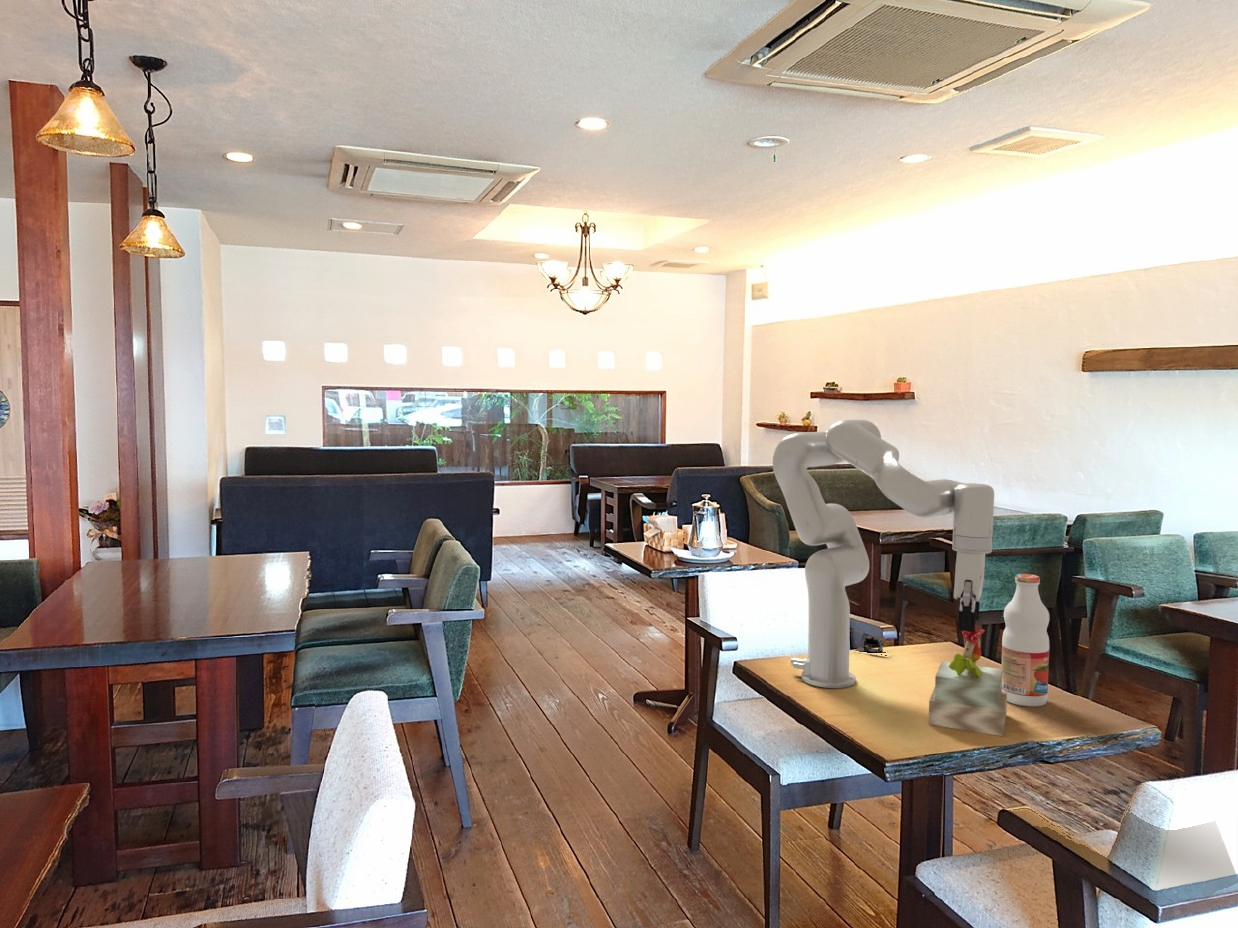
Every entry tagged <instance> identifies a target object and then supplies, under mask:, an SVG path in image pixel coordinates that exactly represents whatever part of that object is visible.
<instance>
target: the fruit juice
mask: <svg viewBox="0 0 1238 928" xmlns="http://www.w3.org/2000/svg"><path fill="white" fill-rule="evenodd" d="M1014 581H1015V584H1016V587H1015V592H1014V594H1013V597H1012V599H1011V601H1009V602H1008V603H1007V604H1006V605H1005V607H1004V610H1003V618H1004V623H1005V627H1004V629H1003V632H1002V640H1001V668H1000V669H1002V691H1006V692H1007V703H1010V704H1013V705H1017V706H1022V707H1036V708H1037V707H1042V706H1045V705H1047V702H1048V695H1049V689H1048V688H1049V687H1048V686H1049V666H1050V665H1049V664H1050V662H1049V659H1050V639H1049V638H1050V637H1049V635H1048V632H1047V630H1048V629H1047V628H1048V627H1049V622H1050V612H1049V610H1048V608H1047V607H1046V606H1045V604H1044V603H1043V602H1042V600H1041V597H1040V593H1039V585H1040V583H1041V578H1040V576H1038V575H1036V574H1030V573H1029V574H1028V573H1017V574H1016V575H1015V576H1014Z"/></svg>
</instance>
